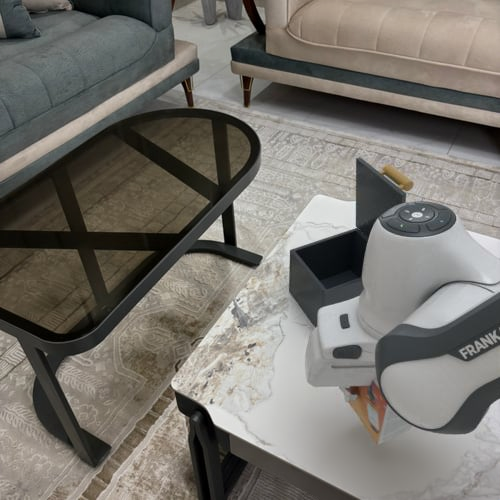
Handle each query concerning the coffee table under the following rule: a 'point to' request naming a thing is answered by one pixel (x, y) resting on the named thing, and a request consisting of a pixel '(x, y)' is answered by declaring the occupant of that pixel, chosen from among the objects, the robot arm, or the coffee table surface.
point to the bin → (327, 271)
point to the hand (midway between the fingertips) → (380, 396)
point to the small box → (377, 414)
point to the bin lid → (377, 193)
